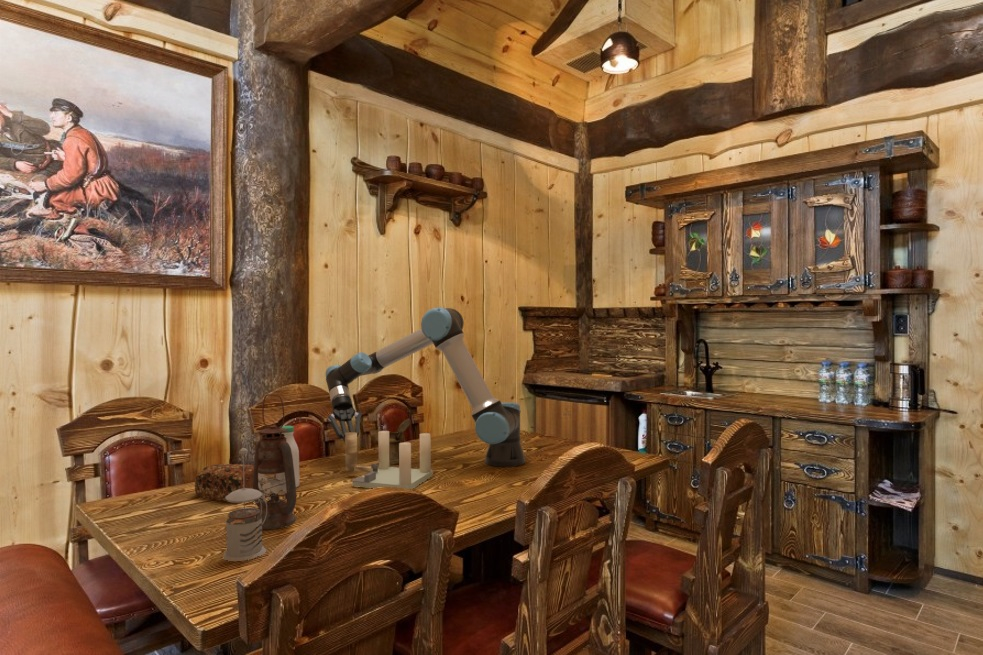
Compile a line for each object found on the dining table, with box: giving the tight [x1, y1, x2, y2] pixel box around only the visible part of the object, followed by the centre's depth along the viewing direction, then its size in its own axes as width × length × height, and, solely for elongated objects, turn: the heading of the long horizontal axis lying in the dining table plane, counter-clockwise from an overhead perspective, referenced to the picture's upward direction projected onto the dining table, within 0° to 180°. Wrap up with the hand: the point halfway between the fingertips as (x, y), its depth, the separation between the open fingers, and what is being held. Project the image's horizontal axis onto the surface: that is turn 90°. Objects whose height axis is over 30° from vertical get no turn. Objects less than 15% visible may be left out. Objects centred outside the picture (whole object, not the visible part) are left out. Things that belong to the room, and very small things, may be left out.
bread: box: [194, 463, 264, 502], centre depth 185 cm, size 19×11×10 cm, turn 67°
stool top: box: [350, 430, 434, 491], centre depth 200 cm, size 21×21×15 cm
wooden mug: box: [389, 417, 411, 466], centre depth 226 cm, size 9×14×18 cm, turn 58°
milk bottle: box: [274, 425, 300, 491], centre depth 194 cm, size 8×8×20 cm
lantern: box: [253, 393, 297, 530], centre depth 160 cm, size 11×16×35 cm
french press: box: [222, 447, 267, 562], centre depth 140 cm, size 10×12×25 cm
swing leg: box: [344, 431, 379, 473], centre depth 205 cm, size 12×4×13 cm, turn 73°
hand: (352, 452), depth 210 cm, fingers closed
